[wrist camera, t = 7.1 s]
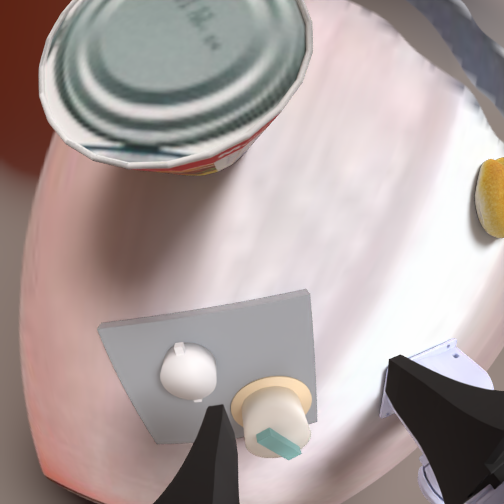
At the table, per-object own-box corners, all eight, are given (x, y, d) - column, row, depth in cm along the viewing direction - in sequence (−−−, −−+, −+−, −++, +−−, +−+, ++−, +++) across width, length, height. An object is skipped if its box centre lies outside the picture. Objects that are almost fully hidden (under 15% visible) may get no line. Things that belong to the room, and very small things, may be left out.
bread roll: (466, 162, 20) (496, 163, 16) (507, 155, 20) (533, 156, 16) (473, 245, 22) (500, 255, 18) (512, 225, 22) (536, 232, 18)
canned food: (170, 53, 15) (124, -62, 4) (276, 89, 17) (346, -11, 5) (122, 153, 17) (3, 131, 5) (230, 193, 18) (244, 217, 7)
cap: (310, 404, 22) (325, 444, 17) (265, 431, 22) (273, 471, 18) (277, 376, 21) (289, 419, 16) (229, 406, 21) (231, 449, 16)
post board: (306, 288, 20) (319, 306, 18) (314, 415, 24) (322, 436, 21) (101, 322, 20) (87, 342, 17) (158, 437, 23) (154, 458, 20)
